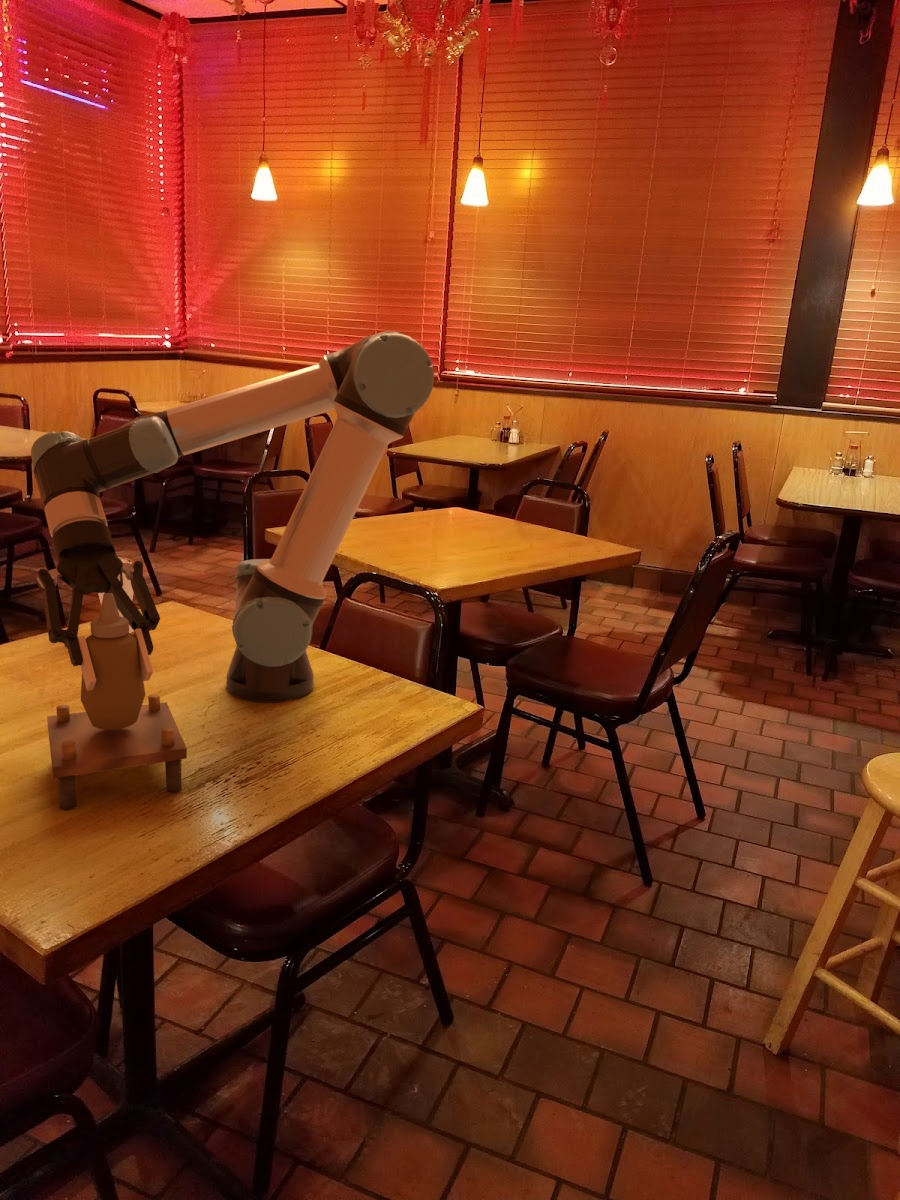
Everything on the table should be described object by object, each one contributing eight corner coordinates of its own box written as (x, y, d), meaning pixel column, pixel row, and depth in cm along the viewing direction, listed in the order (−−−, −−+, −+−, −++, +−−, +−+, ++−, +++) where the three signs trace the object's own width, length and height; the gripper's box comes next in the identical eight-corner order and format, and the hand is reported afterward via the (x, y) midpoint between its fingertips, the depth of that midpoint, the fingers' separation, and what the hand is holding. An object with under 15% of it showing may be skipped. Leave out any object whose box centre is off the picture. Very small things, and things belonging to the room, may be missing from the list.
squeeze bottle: (113, 705, 118) (107, 582, 113) (159, 717, 115) (155, 592, 110) (68, 726, 111) (59, 596, 106) (115, 740, 108) (109, 607, 103)
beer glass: (114, 639, 167) (110, 566, 163) (92, 632, 170) (88, 560, 166) (143, 631, 173) (140, 561, 168) (121, 624, 176) (118, 555, 172)
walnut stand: (167, 742, 126) (166, 689, 123) (187, 792, 112) (186, 734, 110) (50, 758, 118) (46, 703, 116) (55, 814, 105) (51, 752, 103)
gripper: (145, 542, 125) (187, 680, 117) (0, 552, 113) (35, 707, 105) (156, 513, 119) (200, 656, 111) (4, 521, 108) (42, 681, 100)
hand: (120, 680), depth 108 cm, fingers closed on squeeze bottle, 6 cm apart
